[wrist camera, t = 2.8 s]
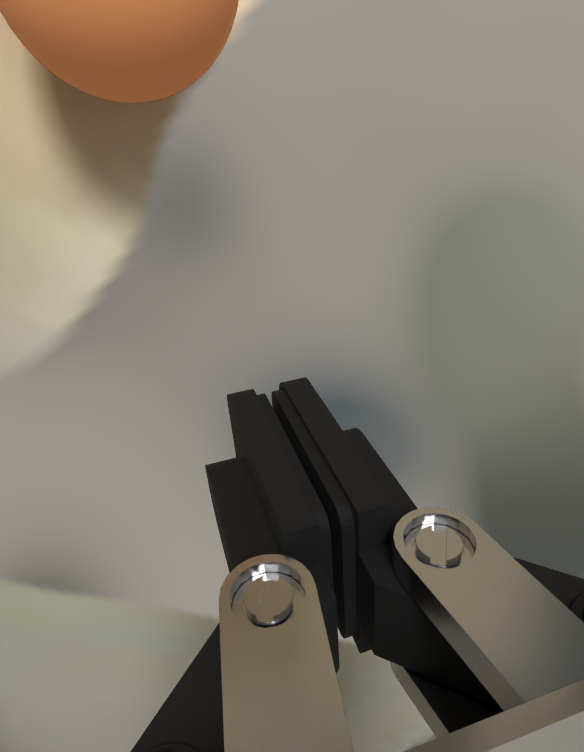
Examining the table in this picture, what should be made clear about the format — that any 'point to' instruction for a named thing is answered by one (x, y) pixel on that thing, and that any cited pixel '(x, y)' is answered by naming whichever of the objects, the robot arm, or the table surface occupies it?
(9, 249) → the table surface
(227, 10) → the ball
